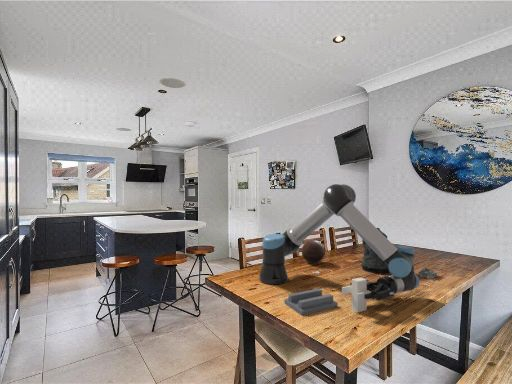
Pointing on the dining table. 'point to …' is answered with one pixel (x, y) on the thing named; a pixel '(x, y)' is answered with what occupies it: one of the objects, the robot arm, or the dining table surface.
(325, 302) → the rack
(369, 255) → the black irregular block
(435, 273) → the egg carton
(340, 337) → the dining table surface
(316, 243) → the wooden sphere
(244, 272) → the dining table surface
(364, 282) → the white rectangular block
